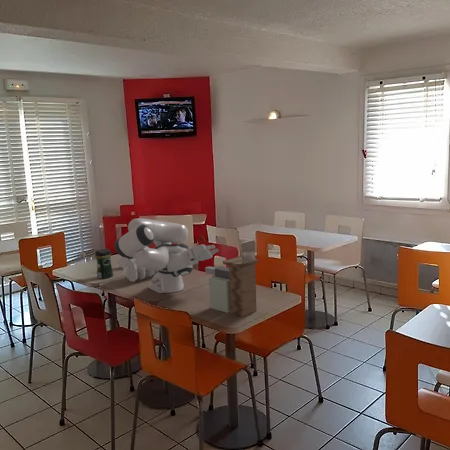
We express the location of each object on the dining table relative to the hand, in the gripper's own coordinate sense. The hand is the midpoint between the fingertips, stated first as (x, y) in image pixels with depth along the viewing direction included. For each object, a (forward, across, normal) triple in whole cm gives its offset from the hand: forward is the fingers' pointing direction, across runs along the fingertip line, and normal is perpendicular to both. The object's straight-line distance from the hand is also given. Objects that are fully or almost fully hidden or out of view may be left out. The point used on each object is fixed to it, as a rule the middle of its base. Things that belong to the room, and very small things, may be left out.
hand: (216, 248), depth 252 cm
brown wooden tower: (+4, +13, -39) cm, 41 cm away
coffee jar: (-79, -38, +16) cm, 89 cm away
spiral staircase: (-55, -36, +7) cm, 66 cm away
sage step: (-3, +8, -33) cm, 34 cm away
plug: (-2, +12, -17) cm, 21 cm away
